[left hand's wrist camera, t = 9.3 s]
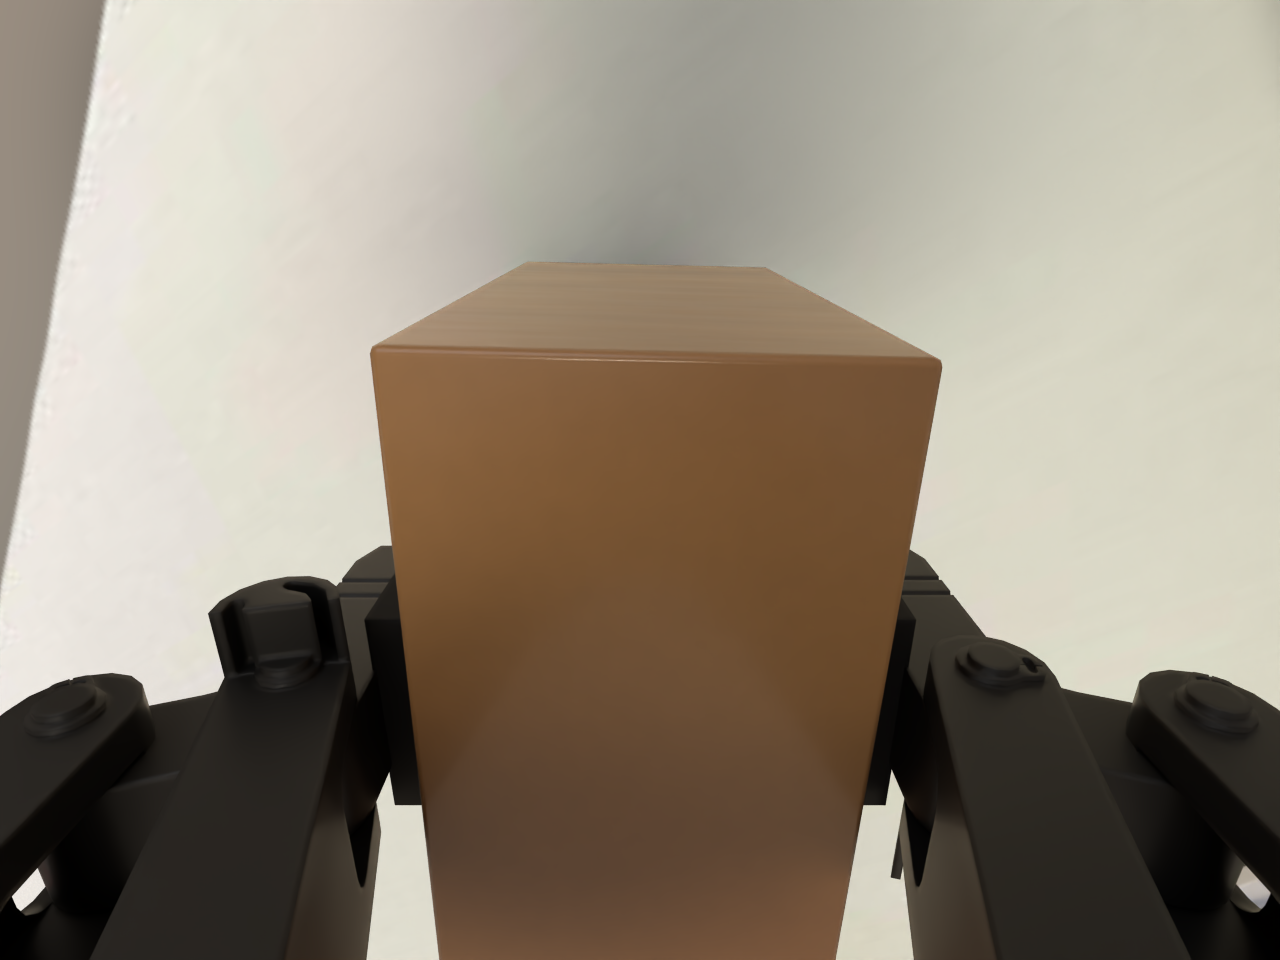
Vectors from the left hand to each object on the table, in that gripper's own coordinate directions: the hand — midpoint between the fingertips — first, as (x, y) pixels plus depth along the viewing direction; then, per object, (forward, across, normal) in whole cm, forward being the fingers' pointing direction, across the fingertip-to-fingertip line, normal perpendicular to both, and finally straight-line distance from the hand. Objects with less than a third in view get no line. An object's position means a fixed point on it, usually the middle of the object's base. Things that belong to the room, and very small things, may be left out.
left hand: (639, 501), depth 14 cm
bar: (+1, -1, -34) cm, 34 cm away
